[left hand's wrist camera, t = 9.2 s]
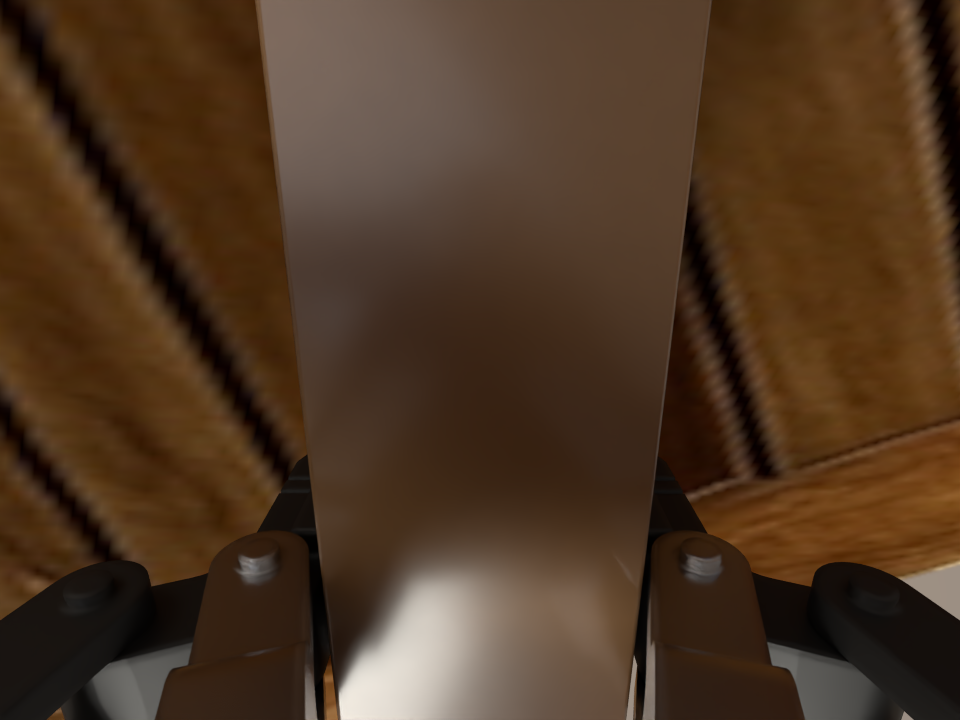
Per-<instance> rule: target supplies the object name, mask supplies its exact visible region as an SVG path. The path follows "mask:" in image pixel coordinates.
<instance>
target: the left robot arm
mask: <svg viewBox="0 0 960 720" xmlns="http://www.w3.org/2000/svg"><path fill="white" fill-rule="evenodd" d="M329 656H330V646H329V637H328V628H327V620H326V611H325V602H324V594H323V585H322V576H321V568H320V559H319V550H318V542H317V533H316V524H315V516H314V507H313V498H312V490H311V481H310V472H309V464H308V455H306V456H305V457H303V458H302V459H301V460H299V461H298V462H297V463H296V465H295V467H294V469H293V470H292V472H291V474H290V476H289V479H288V480H287V481H286V483H285V484H284V486H283V488H282V490H281V493H279V495H278V497H277V498H276V500H275V502H274V504H273V505H272V507H271V509H270V511H269V512H268V514H267V516H266V518H265V519H264V521H263V523H262V525H261V526H260V528H259V530H258V532H257V533H254V534H250V535H247V536H245V537H242V538H240V539H238V540H236V541H234V542H232V543H230V544H229V545H227V546H226V547H225V548H223V549H222V550H221V551H220V552H219V553H218V554H217V555H216V556H215V558H214V559H213V561H212V562H211V565H210V568H209V572H208V573H207V574H204V575H201V576H197V577H193V578H189V579H184V580H180V581H175V582H170V583H166V584H161V585H157V586H152V587H151V583H150V579H149V575H148V572H147V570H146V569H145V568H144V567H143V566H142V565H140V564H138V563H135V562H132V561H123V560H117V561H108V562H102V563H98V564H94V565H90V566H87V567H84V568H82V569H79V570H77V571H75V572H72V573H70V574H68V575H67V576H65V577H63V578H61V579H60V580H58V581H56V582H55V583H53V584H52V585H50V586H49V587H48V588H46V589H45V590H43V591H42V592H40V593H39V594H38V595H36V596H35V597H33V598H32V599H30V600H29V601H27V602H26V603H25V604H23V605H22V606H20V607H19V608H17V609H16V610H15V611H13V612H12V613H10V614H9V615H7V616H6V617H4V618H3V619H2V620H0V720H46V719H48V718H49V717H50V716H51V715H52V714H53V713H54V712H55V711H56V710H57V709H59V708H60V707H61V709H62V712H63V715H64V718H65V720H327V715H326V689H325V680H324V673H325V670H326V666H327V663H328V660H329ZM634 656H635V659H636V663H637V672H636V680H635V689H634V715H633V720H901V719H902V716H903V713H904V711H905V712H906V713H907V714H908V715H909V716H910V717H911V718H913V719H914V720H960V620H958V619H957V618H955V617H954V616H953V615H951V614H950V613H948V612H947V611H945V610H944V609H942V608H941V607H940V606H938V605H937V604H935V603H934V602H932V601H931V600H930V599H928V598H927V597H925V596H924V595H922V594H921V593H920V592H918V591H917V590H915V589H914V588H912V587H911V586H909V585H908V584H907V583H905V582H903V581H902V580H900V579H898V578H896V577H895V576H893V575H891V574H888V573H886V572H884V571H882V570H879V569H876V568H873V567H870V566H866V565H862V564H857V563H850V562H834V563H829V564H826V565H823V566H821V567H820V568H819V569H817V571H816V572H815V574H814V577H813V582H812V586H811V587H809V586H804V585H800V584H795V583H791V582H786V581H781V580H777V579H772V578H769V577H765V576H761V575H758V574H756V573H753V572H751V568H750V565H749V562H748V561H747V559H746V558H745V556H744V555H743V554H742V553H741V552H740V551H739V550H738V549H737V548H735V547H734V546H733V545H731V544H730V543H728V542H726V541H724V540H722V539H720V538H718V537H715V536H713V535H710V534H707V532H706V530H705V528H704V527H703V525H702V523H701V521H700V520H699V518H698V516H697V515H696V513H695V511H694V509H693V508H692V506H691V504H690V503H689V501H688V499H687V497H686V496H685V494H683V492H682V489H681V487H680V485H679V484H678V482H677V481H675V477H674V475H673V473H672V472H671V470H670V468H669V466H668V465H667V463H666V462H665V461H664V460H662V459H661V458H660V457H657V465H656V474H655V482H654V490H653V499H652V507H651V515H650V524H649V532H648V541H647V549H646V557H645V566H644V574H643V582H642V591H641V599H640V607H639V616H638V624H637V633H636V641H635V649H634Z"/></svg>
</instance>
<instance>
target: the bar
mask: <svg viewBox="0 0 960 720" xmlns="http://www.w3.org/2000/svg"><path fill="white" fill-rule="evenodd" d="M255 4H256V13H257V21H258V30H259V39H260V47H261V56H262V65H263V73H264V82H265V91H266V99H267V108H268V117H269V125H270V134H271V143H272V151H273V160H274V169H275V177H276V186H277V195H278V203H279V212H280V221H281V229H282V238H283V247H284V255H285V264H286V273H287V281H288V290H289V299H290V307H291V316H292V325H293V334H294V342H295V351H296V360H297V368H298V377H299V386H300V394H301V403H302V412H303V420H304V429H305V438H306V446H307V455H308V464H309V472H310V481H311V490H312V498H313V507H314V516H315V524H316V533H317V542H318V550H319V559H320V568H321V576H322V585H323V594H324V602H325V611H326V620H327V628H328V637H329V646H330V654H331V663H332V672H333V680H334V689H335V698H336V706H337V715H338V720H626V716H627V708H628V699H629V691H630V683H631V674H632V666H633V658H634V649H635V641H636V633H637V624H638V616H639V607H640V599H641V591H642V582H643V574H644V566H645V557H646V549H647V541H648V532H649V524H650V515H651V507H652V499H653V490H654V482H655V474H656V465H657V457H658V449H659V440H660V432H661V424H662V415H663V407H664V398H665V390H666V382H667V373H668V365H669V357H670V348H671V340H672V332H673V323H674V315H675V307H676V298H677V290H678V281H679V273H680V265H681V256H682V248H683V240H684V231H685V223H686V215H687V206H688V198H689V190H690V181H691V173H692V164H693V156H694V148H695V139H696V131H697V123H698V114H699V106H700V98H701V89H702V81H703V72H704V64H705V56H706V47H707V39H708V31H709V22H710V14H711V6H712V0H255Z"/></svg>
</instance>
